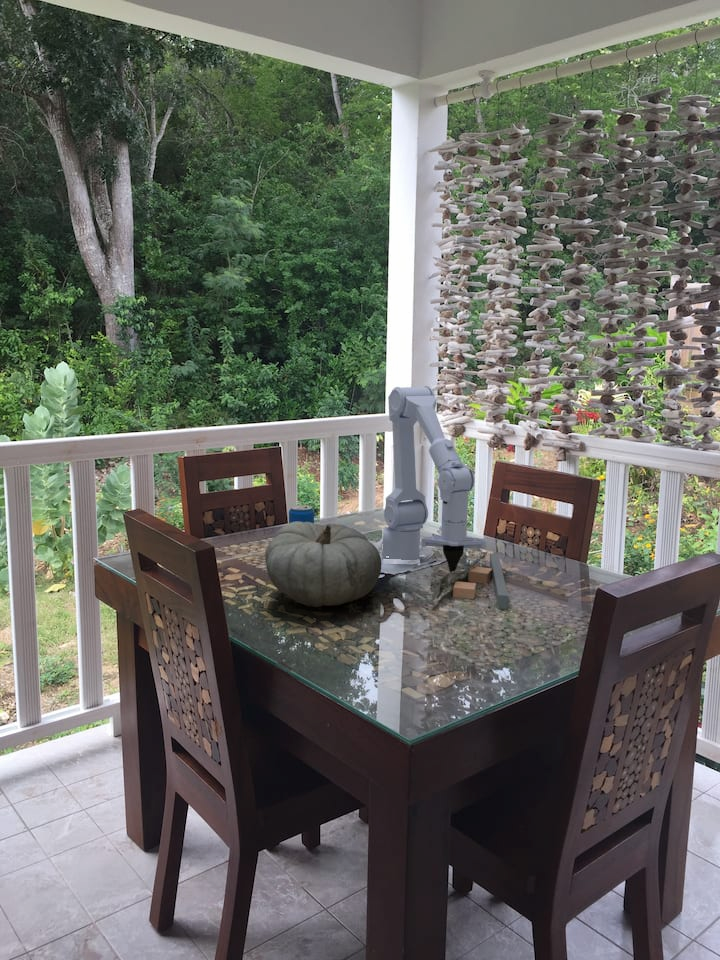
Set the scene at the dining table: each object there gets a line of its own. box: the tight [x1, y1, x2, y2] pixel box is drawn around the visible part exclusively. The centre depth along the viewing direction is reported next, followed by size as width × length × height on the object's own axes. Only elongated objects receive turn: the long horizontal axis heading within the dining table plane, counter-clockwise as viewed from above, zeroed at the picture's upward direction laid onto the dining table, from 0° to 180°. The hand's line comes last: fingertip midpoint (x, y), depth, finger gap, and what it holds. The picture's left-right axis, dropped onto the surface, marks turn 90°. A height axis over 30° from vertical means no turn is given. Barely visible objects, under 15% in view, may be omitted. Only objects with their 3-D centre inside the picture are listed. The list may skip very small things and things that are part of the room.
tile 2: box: [467, 565, 492, 585], centre depth 191 cm, size 4×4×2 cm
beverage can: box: [288, 504, 315, 524], centre depth 212 cm, size 6×6×12 cm
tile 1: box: [452, 581, 477, 600], centre depth 181 cm, size 4×4×2 cm
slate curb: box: [489, 553, 509, 610], centre depth 187 cm, size 2×32×3 cm, turn 174°
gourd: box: [264, 521, 382, 608], centre depth 175 cm, size 25×25×17 cm
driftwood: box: [430, 551, 489, 605], centre depth 186 cm, size 37×2×5 cm
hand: (452, 577), depth 188 cm, fingers closed, pressing on driftwood
